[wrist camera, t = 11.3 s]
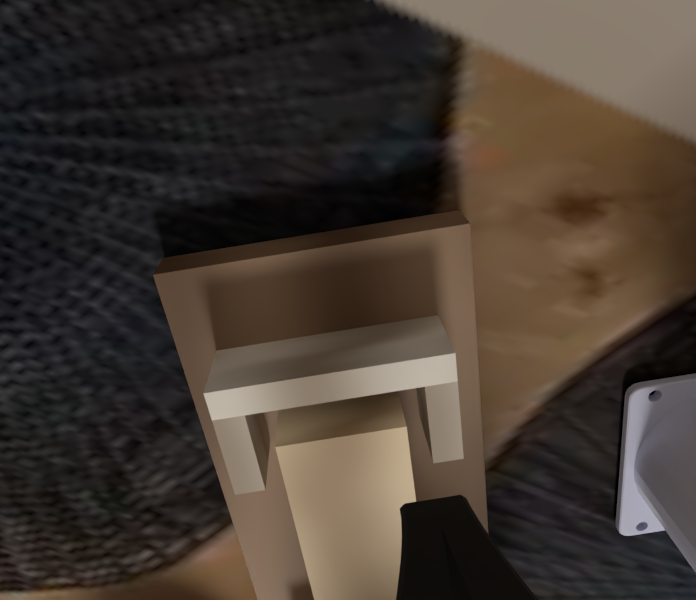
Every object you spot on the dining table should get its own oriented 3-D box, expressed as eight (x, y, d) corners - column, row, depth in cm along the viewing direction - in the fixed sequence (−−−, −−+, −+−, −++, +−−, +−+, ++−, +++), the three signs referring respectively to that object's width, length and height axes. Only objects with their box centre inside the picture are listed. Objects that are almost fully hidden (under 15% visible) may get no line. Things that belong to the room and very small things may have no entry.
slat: (393, 372, 20) (406, 426, 17) (427, 631, 26) (441, 702, 23) (280, 390, 20) (275, 447, 17) (340, 645, 26) (344, 716, 23)
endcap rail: (458, 209, 19) (493, 251, 15) (488, 657, 29) (514, 746, 26) (164, 258, 19) (129, 309, 15) (297, 687, 29) (295, 779, 26)
